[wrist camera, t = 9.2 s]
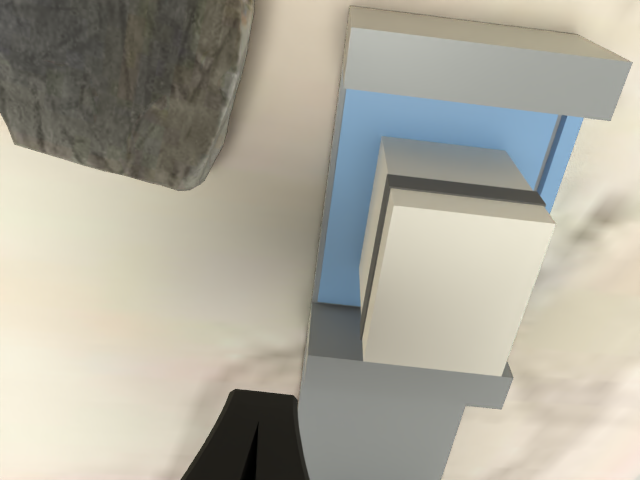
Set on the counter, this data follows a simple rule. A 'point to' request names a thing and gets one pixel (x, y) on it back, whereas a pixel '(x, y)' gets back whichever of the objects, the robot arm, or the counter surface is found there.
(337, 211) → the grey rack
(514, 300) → the block
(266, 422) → the robot arm
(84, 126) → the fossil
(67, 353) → the counter surface
